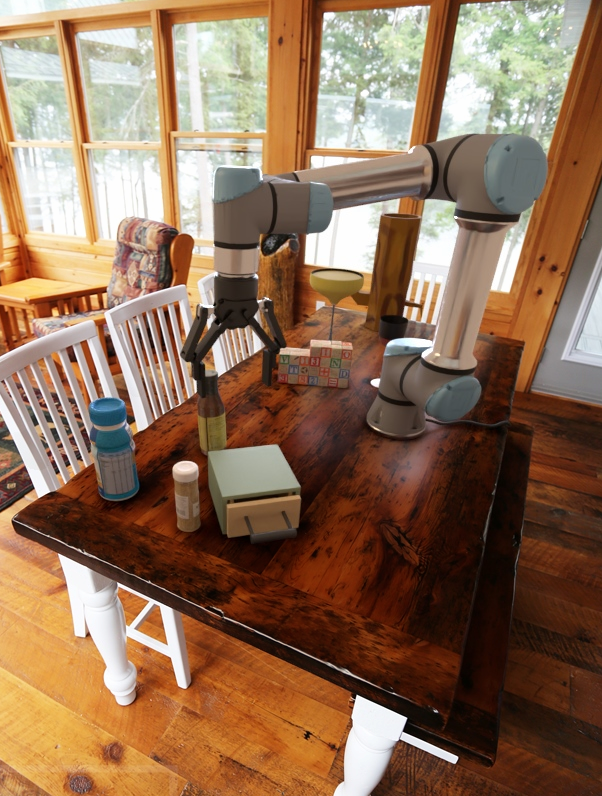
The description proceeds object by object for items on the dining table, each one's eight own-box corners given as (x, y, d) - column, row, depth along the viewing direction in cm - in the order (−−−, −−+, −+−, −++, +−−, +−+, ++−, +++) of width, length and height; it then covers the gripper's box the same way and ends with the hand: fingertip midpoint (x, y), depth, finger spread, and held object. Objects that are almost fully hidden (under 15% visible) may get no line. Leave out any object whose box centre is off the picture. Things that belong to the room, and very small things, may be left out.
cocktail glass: (358, 356, 175) (368, 281, 162) (305, 354, 175) (312, 279, 162) (351, 338, 190) (360, 269, 177) (303, 337, 190) (308, 267, 177)
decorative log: (360, 209, 192) (442, 216, 185) (347, 316, 214) (419, 325, 207) (354, 214, 180) (441, 221, 173) (340, 326, 203) (417, 336, 195)
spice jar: (205, 528, 97) (202, 469, 89) (183, 536, 94) (179, 476, 87) (194, 515, 100) (191, 457, 93) (172, 522, 98) (168, 464, 90)
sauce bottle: (230, 447, 122) (230, 369, 111) (220, 460, 117) (219, 380, 106) (205, 442, 123) (203, 365, 113) (194, 454, 118) (190, 375, 108)
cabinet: (297, 523, 99) (300, 487, 94) (222, 534, 95) (222, 497, 90) (275, 478, 111) (277, 444, 107) (208, 486, 108) (207, 451, 103)
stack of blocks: (277, 383, 154) (279, 344, 147) (278, 375, 159) (280, 337, 153) (347, 388, 153) (353, 349, 146) (346, 380, 158) (352, 341, 151)
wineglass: (367, 386, 154) (377, 321, 143) (373, 376, 161) (383, 313, 150) (393, 391, 152) (405, 325, 141) (398, 380, 159) (410, 317, 148)
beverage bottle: (119, 508, 101) (105, 419, 90) (89, 493, 105) (73, 406, 94) (148, 487, 107) (139, 402, 96) (119, 474, 111) (107, 390, 100)
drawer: (310, 551, 91) (313, 521, 87) (235, 563, 88) (236, 533, 84) (277, 484, 108) (278, 456, 104) (214, 491, 105) (213, 464, 101)
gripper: (289, 263, 93) (282, 372, 104) (156, 272, 83) (165, 392, 94) (311, 272, 87) (301, 386, 99) (171, 283, 77) (178, 409, 89)
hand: (234, 389), depth 96 cm, fingers open, 13 cm apart
